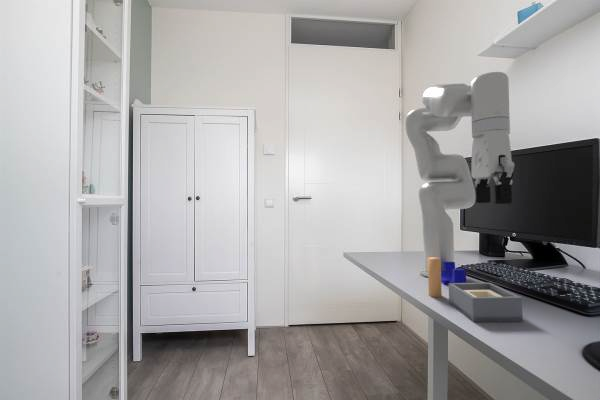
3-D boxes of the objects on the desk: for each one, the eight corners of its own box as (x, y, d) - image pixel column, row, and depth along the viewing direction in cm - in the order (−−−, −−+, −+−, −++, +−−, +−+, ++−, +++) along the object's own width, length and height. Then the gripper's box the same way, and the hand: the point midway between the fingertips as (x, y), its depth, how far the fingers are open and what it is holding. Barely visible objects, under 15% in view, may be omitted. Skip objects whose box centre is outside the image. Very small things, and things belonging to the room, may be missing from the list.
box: (449, 303, 78) (448, 283, 78) (490, 302, 78) (490, 282, 78) (473, 322, 66) (472, 298, 66) (522, 321, 66) (521, 297, 66)
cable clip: (439, 280, 101) (438, 261, 101) (454, 280, 100) (453, 261, 100) (449, 291, 89) (448, 269, 89) (466, 291, 88) (465, 270, 88)
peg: (430, 293, 87) (428, 257, 87) (442, 294, 85) (441, 257, 85) (427, 296, 84) (426, 258, 84) (440, 298, 83) (439, 259, 83)
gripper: (459, 137, 82) (461, 202, 82) (490, 121, 65) (492, 204, 65) (490, 135, 81) (492, 202, 81) (530, 119, 64) (532, 203, 64)
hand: (492, 203), depth 73 cm, fingers open, 9 cm apart
